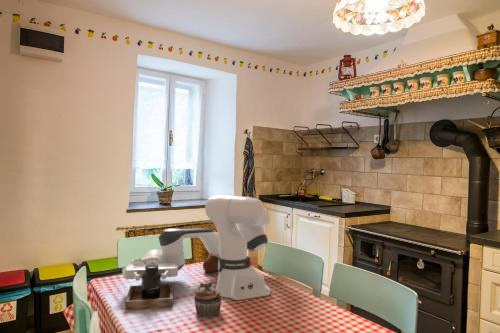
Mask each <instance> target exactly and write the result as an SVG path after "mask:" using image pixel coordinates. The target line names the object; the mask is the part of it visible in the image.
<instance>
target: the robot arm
mask: <svg viewBox="0 0 500 333" xmlns="http://www.w3.org/2000/svg"><path fill="white" fill-rule="evenodd" d="M204 205H205V206H204V210H205V215H206V216H207V218H208V219H210V221H211V222H212V223H213V224H214V226H215V228H216V231H214V229H213V228H209V227H193V228H192V227H191V228H165V229H163V230H162V232H161V233H160V234H159V236H158V242H159V245H160V250H159V248H158V249H157V248H152V249H150V250H148V251H147V252H146V253H145V254H144V256H143V257H142V258H135V259H131V260H130V262H129V264H127V265H126V266H125V268H124V270H123V271H124V272H123V273H124V274H123V275H124V276H123V279H125V280H135V281H141V279H142V275H143V274H144V273H145V266H146V265H152V264H154V265H158V272H159V273H160V275H161V279H162V280H165V279H167V278H175V277H177V276H178V274H179V271H180V270H181V269H182V268H184V266H185V264H186V256H185V250H184V239H191V238H199V239H200V240H201V242H202V244H203V245H204V247H205V249H206V250H207V252H208V253H209V254H210V255H211V256H217V257H218V258H219V260H218V270H217V271H218V276H217V282H216V285H215V289H217V290H218V291H219V293H220V296H221V298H222V297H223V298H227V299H231V300H233V301H243V300H246V299H253V298H260V297H266V296H270V295H271V288H270V287H269V286H268V285H267V284H266V282H265V278H264V275H263V274H262V273H261V272H260V271H258V270H257V269H256V268H255V267H254V266H253V265H255V263H256V261H255V260H254V259H252V258H251V257H249V256H248V251H251V252H257V251H261V250H263V249H264V248H265V247H266V246H267V244H268V243H269V239H268V236H267V234H266V233H265V231H264V229H265V228H266V227H268V226H269V223H270V222H271V216H270V213H269V212H268V210H266V209H265V205H264V203H263V201H262V200H261V199H257V198H255V197H252V196H241V195H229V194H228V195H227V194H225V195H224V194H219V195H214V196H210V197H209V198H208V199H207V200H206V202H205V204H204Z"/></svg>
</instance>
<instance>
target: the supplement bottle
mask: <svg viewBox="0 0 500 333" xmlns="http://www.w3.org/2000/svg"><path fill="white" fill-rule="evenodd" d="M161 279H162V277H161V275H160V273H159V272H158V265H154V264H152V265H146V266H145V273H144V274H143V275H142V278H141V285H142V290H141V298H142V299H143V300H145V299H158V298H159V297H160V284H161V281H162V280H161Z"/></svg>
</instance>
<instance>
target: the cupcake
mask: <svg viewBox="0 0 500 333" xmlns="http://www.w3.org/2000/svg"><path fill="white" fill-rule="evenodd" d="M198 287H199V288H197V290H195V293H194V298H193V300H194V305H195V312H196V315H197V316H199V317H200V318H208V319H209V318H214V317H218V316H219V314H220V312H221V307H222V302H223V298H222V296H220V293H219V291H218V290H217V289H216V284H215V282H212V281H210V283H202V282H201V283H200V285H199V286H198Z"/></svg>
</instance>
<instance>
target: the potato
mask: <svg viewBox="0 0 500 333" xmlns="http://www.w3.org/2000/svg"><path fill="white" fill-rule="evenodd" d="M218 260H219V256H214V255H211V256H208V257H206V259H204V261H203V263H202V267H203V270H204V271H205V272H206V273H208V274H210V273H214V272H216V271H219V270H218Z"/></svg>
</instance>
